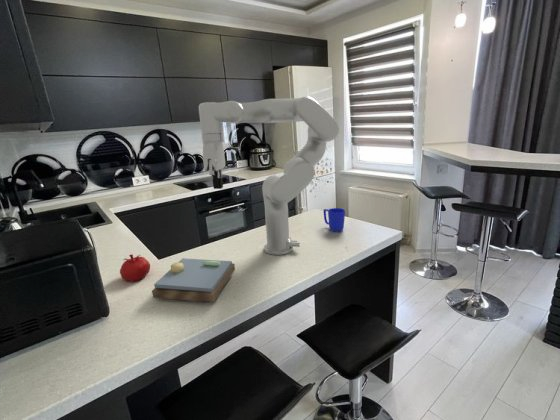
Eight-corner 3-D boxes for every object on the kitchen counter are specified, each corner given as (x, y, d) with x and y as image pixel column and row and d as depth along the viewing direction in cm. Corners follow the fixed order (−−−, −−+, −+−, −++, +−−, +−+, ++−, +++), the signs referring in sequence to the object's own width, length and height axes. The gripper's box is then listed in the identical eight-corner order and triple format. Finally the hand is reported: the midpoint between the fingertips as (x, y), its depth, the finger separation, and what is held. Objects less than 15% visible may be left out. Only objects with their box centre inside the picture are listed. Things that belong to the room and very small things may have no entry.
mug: (329, 224, 152) (329, 205, 149) (348, 229, 143) (348, 210, 140) (318, 228, 147) (318, 209, 144) (337, 234, 138) (337, 214, 135)
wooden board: (235, 273, 106) (234, 263, 105) (214, 306, 88) (212, 294, 87) (184, 270, 110) (183, 261, 109) (153, 301, 91) (151, 290, 90)
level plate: (232, 264, 104) (231, 256, 104) (212, 292, 88) (211, 282, 87) (183, 261, 108) (181, 253, 107) (154, 287, 91) (153, 278, 90)
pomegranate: (157, 273, 110) (153, 250, 107) (133, 286, 101) (129, 262, 98) (138, 268, 114) (135, 246, 111) (115, 280, 105) (110, 257, 103)
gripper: (211, 138, 113) (216, 184, 119) (193, 140, 99) (200, 193, 105) (229, 137, 112) (234, 184, 117) (214, 139, 98) (220, 192, 103)
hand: (218, 188), depth 111 cm, fingers closed
